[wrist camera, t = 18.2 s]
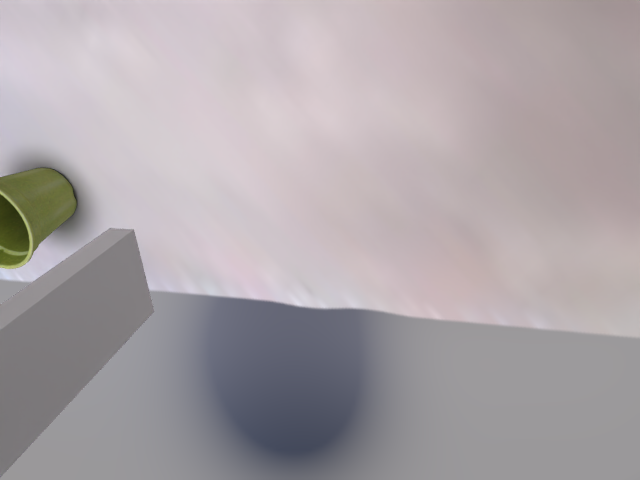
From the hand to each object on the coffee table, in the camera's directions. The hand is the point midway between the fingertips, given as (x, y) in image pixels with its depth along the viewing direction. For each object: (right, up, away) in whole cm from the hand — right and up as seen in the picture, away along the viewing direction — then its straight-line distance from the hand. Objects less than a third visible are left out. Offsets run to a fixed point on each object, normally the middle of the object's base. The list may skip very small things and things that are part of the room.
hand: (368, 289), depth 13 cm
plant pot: (-31, +6, +42) cm, 52 cm away
